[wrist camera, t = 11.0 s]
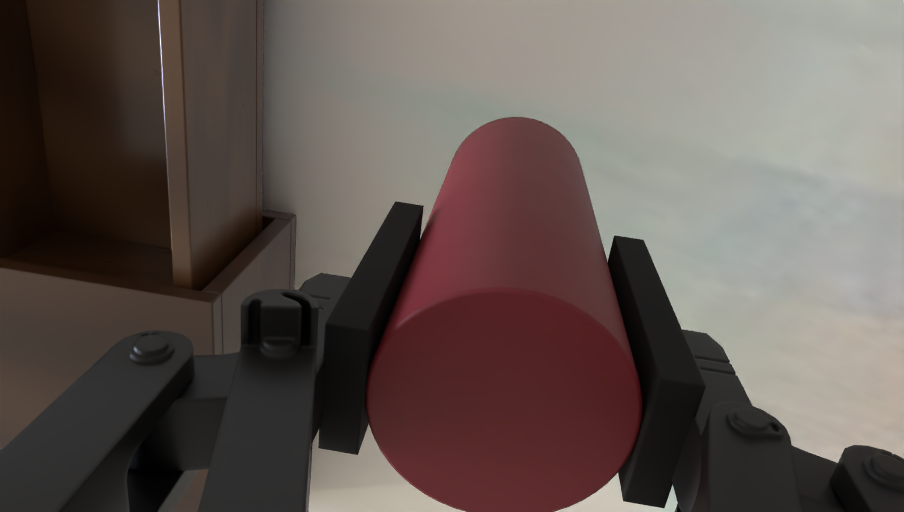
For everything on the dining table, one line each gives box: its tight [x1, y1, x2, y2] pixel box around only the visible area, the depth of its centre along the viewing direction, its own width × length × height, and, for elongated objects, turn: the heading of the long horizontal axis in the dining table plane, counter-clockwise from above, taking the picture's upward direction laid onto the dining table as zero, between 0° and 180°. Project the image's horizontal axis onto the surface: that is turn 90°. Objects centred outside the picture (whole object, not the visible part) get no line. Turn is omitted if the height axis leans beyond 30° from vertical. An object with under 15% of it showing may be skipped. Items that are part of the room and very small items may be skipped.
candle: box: [365, 117, 643, 512], centre depth 18 cm, size 5×5×14 cm
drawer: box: [0, 0, 263, 291], centre depth 26 cm, size 22×12×8 cm, turn 173°
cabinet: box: [0, 210, 296, 512], centre depth 33 cm, size 19×14×10 cm
